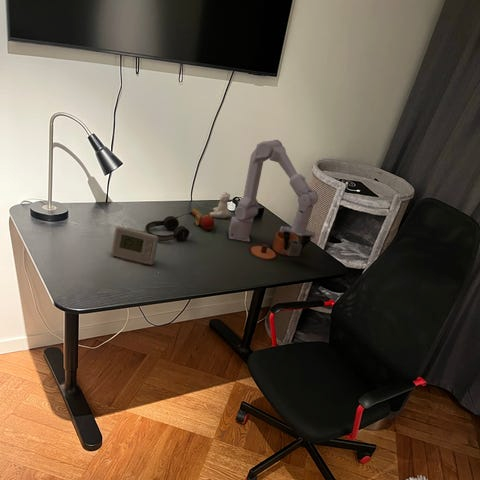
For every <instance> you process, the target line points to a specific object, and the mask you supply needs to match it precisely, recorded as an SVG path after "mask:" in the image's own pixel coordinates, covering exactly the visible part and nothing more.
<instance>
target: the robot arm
mask: <svg viewBox="0 0 480 480" xmlns="http://www.w3.org/2000/svg"><path fill="white" fill-rule="evenodd" d="M267 160H269V161H271V162H275V163H278V165H279V166H280V168H282V170H283V171H284V172H285V174H286V176H287V177H288V178H289V185H290V187H291V188H292V189H293V192H294V193H295V194H296V196H297V202H298V207H297V210H296V213H295V217H294V220H293V223H292V226H284V225H282V226H280V228H279V231H280V232H282V233H283V234H284V250H286V248H287V244H288V241H289V239H290V233H291V234H294V235H296V236H297V237H302V238H301V242H300V243H301V244H302V249H301V252H300V254H301V253H302V252H303V250H304V248H305V247H306V246H307V245H308V244H309V243H310V242H311V240H312V239H315V237H316V234H317V233H316V232H315V231H311V230H308V229H307V228H308V225H309V221H310V219H311V216H312V213H313V209H314V206H315V204H317V203H318V201H319V195H318V192H317V191H316V190H314V189H312V187H310V185H309V183H308V182H307V181H306V179H307V178H306V176H305V175H303V174H301V173H298V172H297V171H296V169H295V167H294V165H293V163H292V162H291V159H290V158H289V156H288V154H287V150H286V148H285V146H283V143H282V142H281V141H280V140H279V139H272V140H266V141H261V142H259V143H257V144H256V147H255V148H254V150H253V151H252V153H251V154H250V159H249V164H248V168H247V169H248V170H247V175H246V181H245V185H244V191H243V195H242V196H243V197H242V198H241V199H240V200H239V201H238V204H237V206H236V208H235V209H234V216H231V218H230V223H229V227H228V231H227V232H228V238H229V239H232V240H239V241H242V242H243V241H244V242H251V239H250V234H251V230H252V226H253V222H254V219H255V217H256V216H258V214H259V201H258V200H257V196H258V191H259V187H260V181H261V177H262V176H261V175H262V170H263V166H264V162H266V161H267Z"/></svg>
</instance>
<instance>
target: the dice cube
mask: <svg viewBox="0 0 480 480" xmlns="http://www.w3.org/2000/svg"><path fill="white" fill-rule="evenodd" d="M301 249H302V244H301V242H300V241H299V239H298V240H290V239H289V241H288V244H287V248H286V250H284V251H285V252H286V253H287V255H286V256H288V257H300V254H301V253H302V251H301ZM300 252H301V253H300Z"/></svg>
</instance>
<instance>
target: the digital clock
mask: <svg viewBox="0 0 480 480" xmlns="http://www.w3.org/2000/svg"><path fill="white" fill-rule="evenodd" d="M156 235H157V234H156ZM156 235H152V234H148V233H146V232H145V231H143V230H142V231H141V230H137V229H134V228H129V227H124V226H119V225H117V226H116V227H115V229H114V234H113V240H112V245H111V249H110V250H111V251H110V254H111V255H112V256H113V257H117V258H120V259H122V260H126V261H129V262H133V263H134V262H135V263H139V264H142V265H143V264H145V265H148V266H152V265H154V263H155V258H156V253H157V248H158V243H159V241H158V236H156Z"/></svg>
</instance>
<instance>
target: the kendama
mask: <svg viewBox="0 0 480 480" xmlns="http://www.w3.org/2000/svg"><path fill="white" fill-rule="evenodd" d="M191 212H193V214H192V215H193V216H194V222H195V224H196V226H201V228H202V229H204V230H206V231H210V230H212V229H213V228H214V226H215V220H214V218H213V217H212V216H211V214H210V212H209V213H207V214H206V215H203V214H202V213H201V212H200V211H199V209H197V208H193V209H192V210H191Z"/></svg>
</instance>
